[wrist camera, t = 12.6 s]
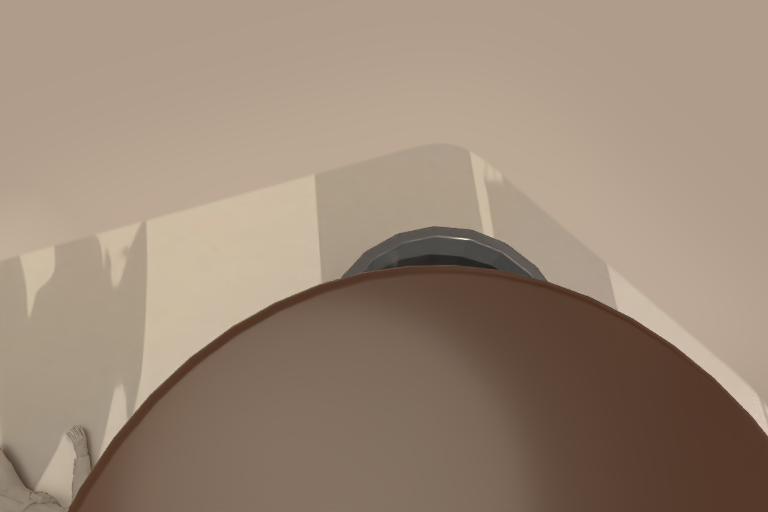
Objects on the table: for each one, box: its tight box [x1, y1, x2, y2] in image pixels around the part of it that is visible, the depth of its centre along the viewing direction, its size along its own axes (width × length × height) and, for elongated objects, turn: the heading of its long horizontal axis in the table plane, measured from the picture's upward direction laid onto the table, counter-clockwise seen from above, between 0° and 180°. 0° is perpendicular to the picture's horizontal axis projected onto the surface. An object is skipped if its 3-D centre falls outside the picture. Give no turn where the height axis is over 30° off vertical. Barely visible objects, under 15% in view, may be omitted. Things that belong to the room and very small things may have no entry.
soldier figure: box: [0, 426, 91, 512], centre depth 27 cm, size 8×5×12 cm
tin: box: [341, 226, 548, 282], centre depth 27 cm, size 10×10×10 cm
